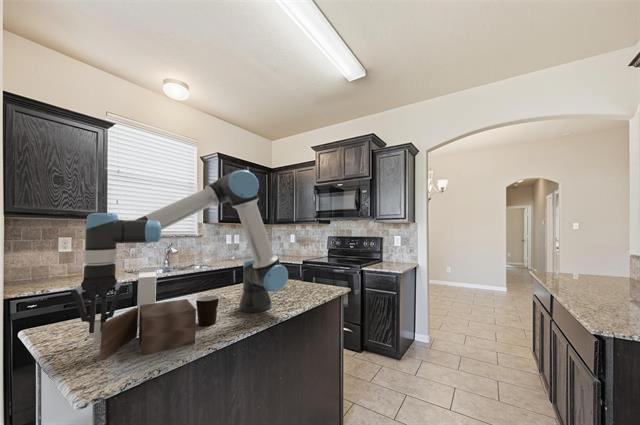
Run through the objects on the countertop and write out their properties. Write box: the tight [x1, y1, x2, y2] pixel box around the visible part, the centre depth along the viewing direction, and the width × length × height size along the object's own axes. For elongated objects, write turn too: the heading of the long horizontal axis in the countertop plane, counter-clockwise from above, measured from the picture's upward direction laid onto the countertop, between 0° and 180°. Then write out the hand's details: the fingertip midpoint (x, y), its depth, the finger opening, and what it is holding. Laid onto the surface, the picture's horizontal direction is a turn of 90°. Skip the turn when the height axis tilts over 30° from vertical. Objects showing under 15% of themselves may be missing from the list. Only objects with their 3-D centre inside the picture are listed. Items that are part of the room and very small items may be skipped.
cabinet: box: [138, 298, 197, 356], centre depth 92 cm, size 15×17×11 cm
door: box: [99, 307, 139, 360], centre depth 87 cm, size 2×17×10 cm, turn 5°
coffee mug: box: [195, 295, 220, 327], centre depth 110 cm, size 12×9×10 cm
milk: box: [136, 267, 157, 327], centre depth 110 cm, size 6×6×22 cm
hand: (96, 343), depth 81 cm, fingers closed
